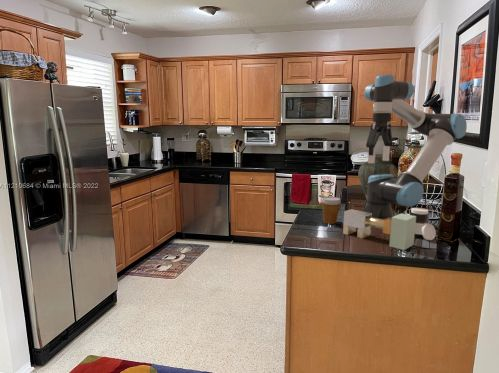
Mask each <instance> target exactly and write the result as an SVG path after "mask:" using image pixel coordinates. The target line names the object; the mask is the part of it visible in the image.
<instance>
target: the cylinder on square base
mask: <svg viewBox="0 0 499 373" xmlns="http://www.w3.org/2000/svg"><path fill="white" fill-rule="evenodd" d="M391 220H392V218H387V219H384V220H382V219H378V218H373V217H368V216H366V219H365V225H366V226H370V227H371V228H375V229H380V230H382V233H383V234H387V235H390V232H391Z"/></svg>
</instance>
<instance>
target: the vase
mask: <svg viewBox="0 0 499 373" xmlns="http://www.w3.org/2000/svg"><path fill="white" fill-rule="evenodd" d="M382 159H383V153H375V163H368V160H367V161H366V162H364V163H362V164H361V165H360V166H359V168H358V172H357V173H358V181H359V184H360V187H361V189H362V191H363V194H364V196H365V198H366V200H367V187H368V179H369V177H370V176H371V175H383V174H391V175H393V177H394V178H393V179H397V178H398V176H399V175H398V170H397V166H396V165H394V164H393V163H391V162H390V160H389V161H383V160H382Z"/></svg>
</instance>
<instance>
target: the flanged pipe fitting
mask: <svg viewBox="0 0 499 373" xmlns="http://www.w3.org/2000/svg"><path fill="white" fill-rule="evenodd" d="M409 215H413V216H416V223H415V234H414V238H421V239H422V238H423V239H425V240H426V241H432V240H434V239H435V238H436V232H437V231H436V228H435V226H434V225H433V224H431V223H430V216H429V209H426V208H424V207H423V208H422V207H411V208H410V214H409Z"/></svg>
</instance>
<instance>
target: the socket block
mask: <svg viewBox="0 0 499 373" xmlns="http://www.w3.org/2000/svg"><path fill="white" fill-rule="evenodd" d="M393 216H394V217H392V220H391V232H390V234H389V235H390V236H389V245H388V246H389V247H390V248H391V247H392V248H395V249H398V250H402V251H405V250H407V249H409V248H410V247H412V246H414V243H415V242H414V240H415V237H414V234H415V223H416V216H413V215H410V214H408V213H407V214H406V213H402V212H401V213H398V214H396V215H393Z"/></svg>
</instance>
